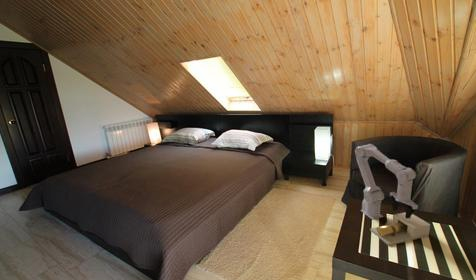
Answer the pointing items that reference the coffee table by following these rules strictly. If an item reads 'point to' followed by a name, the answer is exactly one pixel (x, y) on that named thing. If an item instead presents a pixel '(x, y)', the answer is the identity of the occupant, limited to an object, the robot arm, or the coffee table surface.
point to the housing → (414, 230)
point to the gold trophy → (391, 229)
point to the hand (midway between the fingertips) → (401, 213)
